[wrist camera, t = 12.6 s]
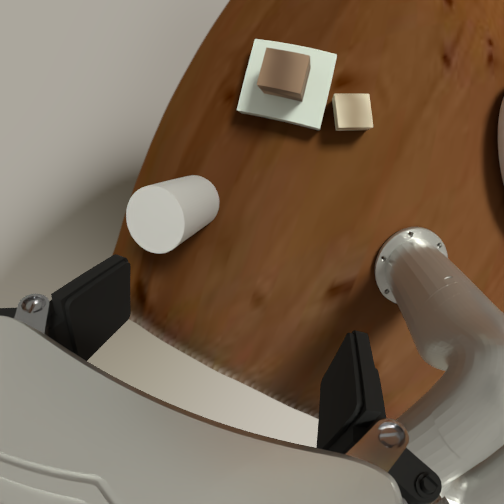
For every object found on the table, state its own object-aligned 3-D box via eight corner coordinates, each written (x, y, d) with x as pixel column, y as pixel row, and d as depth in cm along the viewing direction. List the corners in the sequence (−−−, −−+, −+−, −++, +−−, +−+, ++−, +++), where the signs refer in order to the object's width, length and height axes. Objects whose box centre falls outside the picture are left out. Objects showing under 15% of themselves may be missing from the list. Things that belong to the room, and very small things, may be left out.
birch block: (362, 100, 31) (368, 93, 27) (366, 130, 33) (373, 127, 29) (331, 100, 32) (334, 93, 28) (335, 130, 34) (338, 127, 30)
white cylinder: (165, 182, 42) (119, 195, 30) (212, 169, 39) (174, 177, 28) (178, 231, 44) (137, 257, 33) (224, 222, 42) (192, 248, 31)
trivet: (335, 61, 30) (337, 54, 27) (319, 130, 34) (319, 128, 32) (259, 46, 31) (255, 38, 29) (242, 113, 36) (236, 110, 33)
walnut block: (310, 68, 29) (309, 55, 24) (302, 101, 31) (300, 93, 26) (272, 60, 29) (266, 47, 25) (264, 93, 31) (256, 84, 27)
